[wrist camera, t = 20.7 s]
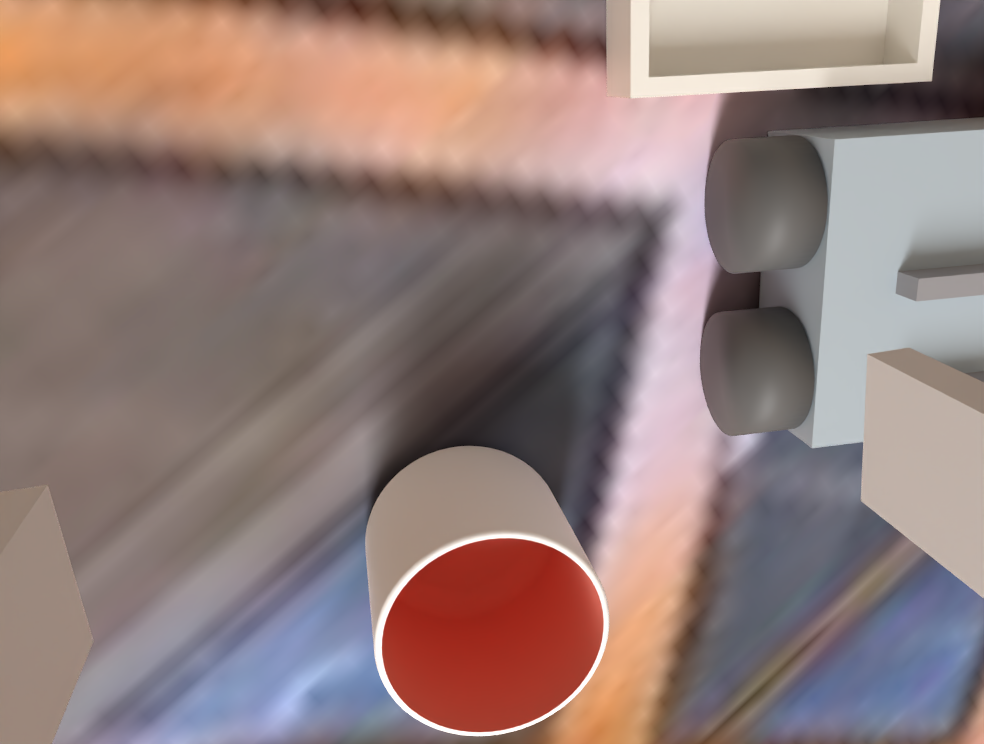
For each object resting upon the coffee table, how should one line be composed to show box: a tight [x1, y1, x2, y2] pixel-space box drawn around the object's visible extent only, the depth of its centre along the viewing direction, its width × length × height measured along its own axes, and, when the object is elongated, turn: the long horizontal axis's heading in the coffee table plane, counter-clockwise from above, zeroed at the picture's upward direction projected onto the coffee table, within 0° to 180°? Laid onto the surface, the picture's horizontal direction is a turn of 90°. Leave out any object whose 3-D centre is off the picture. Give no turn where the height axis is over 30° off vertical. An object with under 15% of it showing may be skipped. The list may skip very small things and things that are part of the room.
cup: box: [365, 446, 609, 736], centre depth 42 cm, size 10×10×10 cm
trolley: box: [700, 117, 984, 448], centre depth 42 cm, size 14×19×8 cm
